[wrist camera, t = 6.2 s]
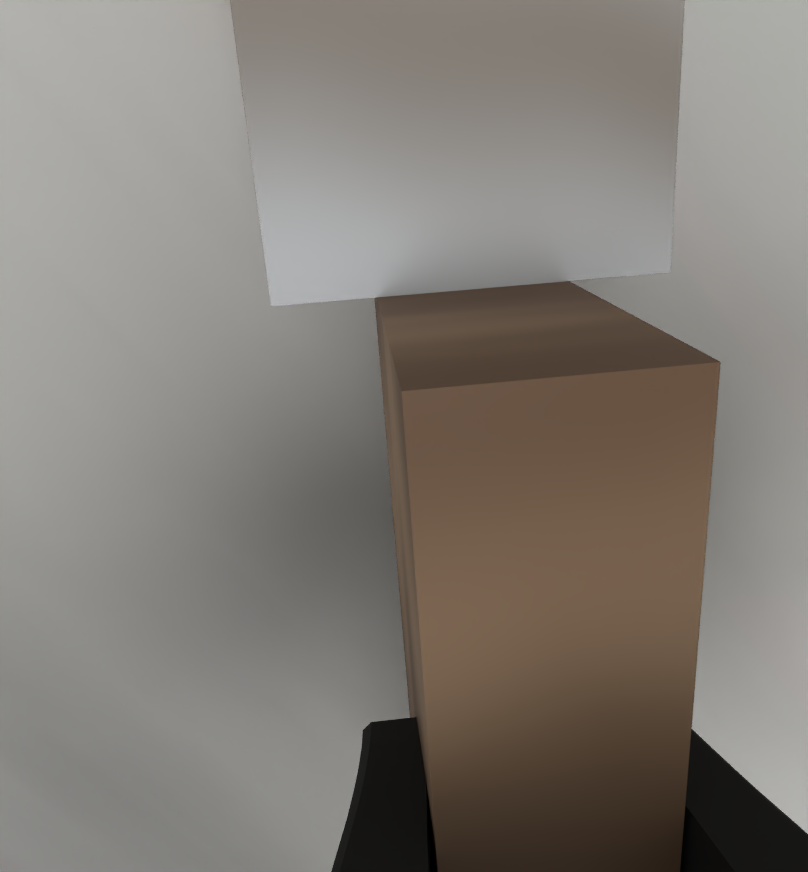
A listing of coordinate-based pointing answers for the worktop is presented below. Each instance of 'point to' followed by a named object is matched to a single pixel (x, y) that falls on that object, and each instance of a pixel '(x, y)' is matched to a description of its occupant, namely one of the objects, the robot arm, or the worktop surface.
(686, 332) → the worktop surface
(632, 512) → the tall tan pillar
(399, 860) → the robot arm
